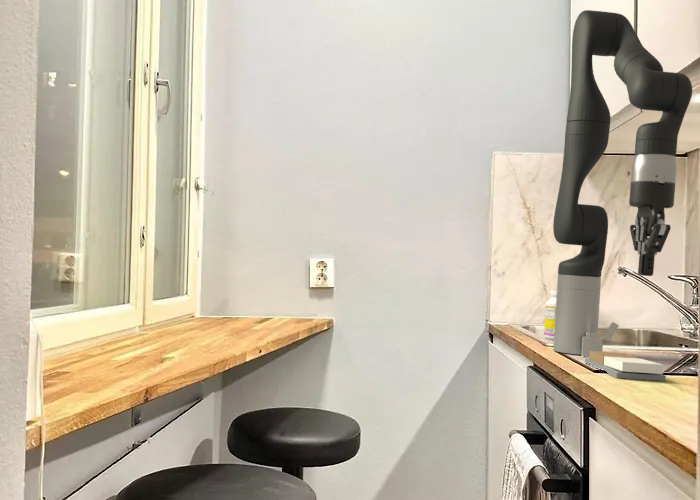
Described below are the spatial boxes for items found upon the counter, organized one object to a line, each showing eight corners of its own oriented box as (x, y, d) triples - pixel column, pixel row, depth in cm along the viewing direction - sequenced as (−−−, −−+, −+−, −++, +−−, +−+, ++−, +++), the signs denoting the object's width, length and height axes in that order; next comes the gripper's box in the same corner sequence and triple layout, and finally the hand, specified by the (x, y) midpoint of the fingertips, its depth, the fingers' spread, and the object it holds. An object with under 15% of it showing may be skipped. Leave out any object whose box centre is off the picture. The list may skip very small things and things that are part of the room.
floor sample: (584, 363, 137) (585, 350, 137) (627, 366, 137) (628, 353, 137) (616, 378, 120) (617, 363, 120) (665, 381, 120) (666, 366, 120)
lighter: (581, 357, 147) (583, 319, 147) (581, 356, 149) (583, 319, 149) (616, 360, 145) (619, 322, 145) (616, 359, 147) (618, 322, 147)
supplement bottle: (569, 339, 184) (572, 291, 184) (570, 341, 178) (573, 292, 178) (543, 336, 186) (546, 289, 186) (543, 339, 179) (546, 290, 180)
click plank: (603, 364, 128) (604, 356, 128) (641, 367, 128) (641, 358, 128) (622, 371, 119) (622, 362, 119) (662, 374, 119) (663, 364, 119)
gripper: (619, 182, 133) (612, 272, 133) (646, 176, 119) (638, 276, 120) (658, 185, 132) (651, 275, 133) (690, 179, 119) (682, 279, 119)
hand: (645, 275), depth 126 cm, fingers closed
